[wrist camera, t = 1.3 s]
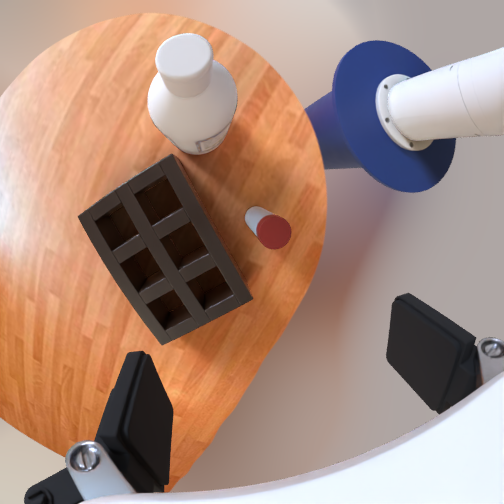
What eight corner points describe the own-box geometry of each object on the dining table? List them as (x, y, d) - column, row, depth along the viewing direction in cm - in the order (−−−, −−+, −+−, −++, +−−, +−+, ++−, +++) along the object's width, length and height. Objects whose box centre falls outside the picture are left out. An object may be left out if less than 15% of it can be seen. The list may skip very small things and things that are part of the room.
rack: (177, 157, 30) (171, 153, 25) (247, 283, 35) (253, 299, 31) (94, 211, 30) (77, 216, 25) (166, 325, 35) (161, 345, 30)
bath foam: (234, 106, 30) (268, 19, 10) (219, 160, 31) (234, 130, 12) (178, 95, 28) (145, 1, 9) (162, 149, 30) (98, 108, 11)
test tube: (261, 201, 33) (282, 210, 23) (271, 222, 34) (296, 239, 24) (240, 212, 33) (252, 226, 23) (251, 233, 34) (267, 255, 24)
